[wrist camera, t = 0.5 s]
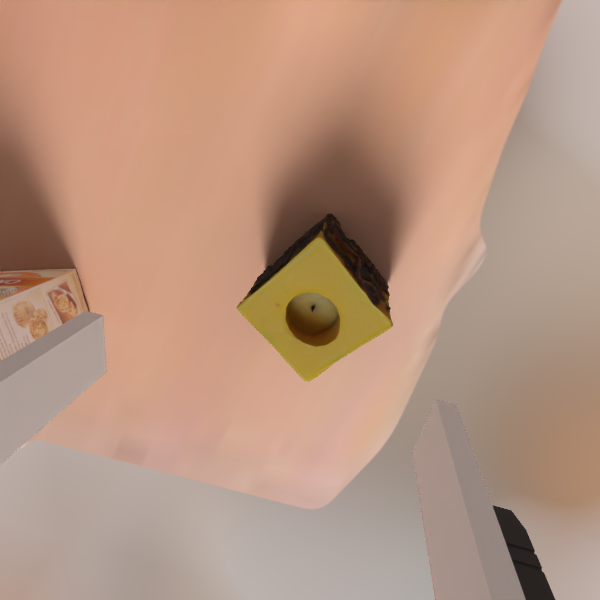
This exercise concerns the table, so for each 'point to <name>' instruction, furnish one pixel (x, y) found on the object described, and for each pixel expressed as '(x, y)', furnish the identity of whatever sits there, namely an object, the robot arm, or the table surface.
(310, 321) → the candle
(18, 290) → the coffeecake box
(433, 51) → the table surface
